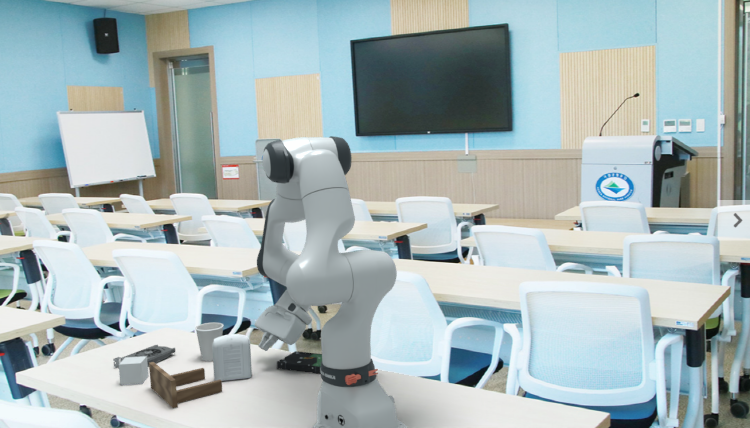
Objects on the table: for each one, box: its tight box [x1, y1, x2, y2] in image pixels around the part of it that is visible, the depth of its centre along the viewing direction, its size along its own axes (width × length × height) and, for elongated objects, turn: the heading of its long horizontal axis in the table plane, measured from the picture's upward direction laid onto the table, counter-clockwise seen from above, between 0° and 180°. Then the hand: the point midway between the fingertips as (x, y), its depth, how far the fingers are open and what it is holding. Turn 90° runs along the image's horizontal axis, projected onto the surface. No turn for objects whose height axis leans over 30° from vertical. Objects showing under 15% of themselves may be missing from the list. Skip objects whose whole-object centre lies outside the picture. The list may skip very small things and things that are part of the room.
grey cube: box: [118, 356, 149, 386], centre depth 185 cm, size 6×6×6 cm
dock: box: [148, 362, 223, 409], centre depth 175 cm, size 18×14×7 cm
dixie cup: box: [195, 322, 225, 362], centre depth 202 cm, size 8×8×10 cm
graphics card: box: [113, 344, 176, 369], centre depth 201 cm, size 17×4×12 cm
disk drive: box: [276, 350, 322, 375], centre depth 192 cm, size 10×3×15 cm
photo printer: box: [212, 333, 253, 382], centre depth 183 cm, size 10×4×12 cm, turn 103°
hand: (262, 348), depth 189 cm, fingers closed
